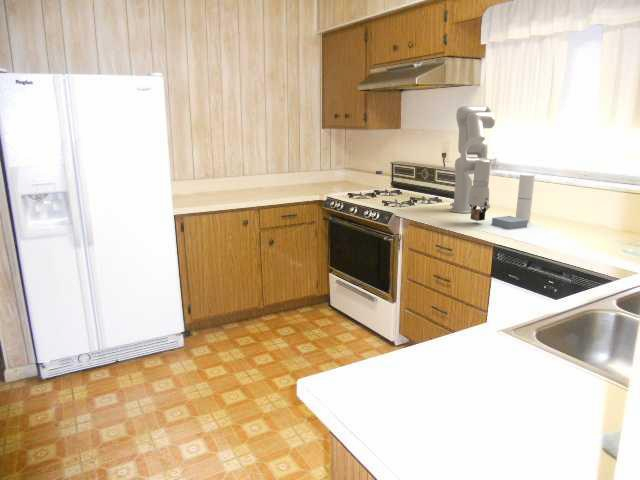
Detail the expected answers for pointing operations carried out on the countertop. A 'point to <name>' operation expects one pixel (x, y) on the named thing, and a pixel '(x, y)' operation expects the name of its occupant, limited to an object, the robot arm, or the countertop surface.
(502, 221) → the grey base block
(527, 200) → the cylindrical container
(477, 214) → the walnut cube
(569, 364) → the countertop surface
